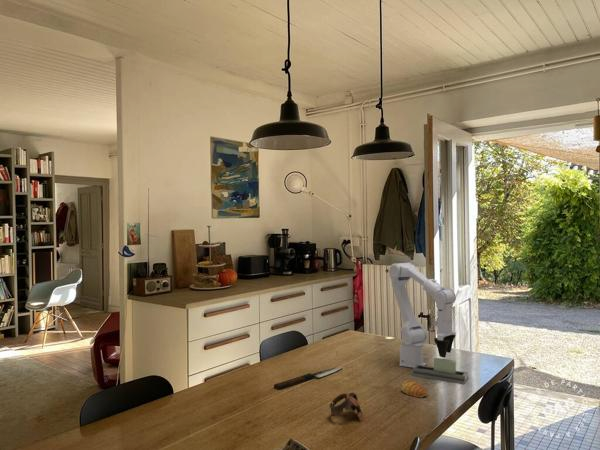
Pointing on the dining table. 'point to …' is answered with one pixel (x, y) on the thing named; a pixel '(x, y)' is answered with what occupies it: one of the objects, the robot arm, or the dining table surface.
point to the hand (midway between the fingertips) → (445, 354)
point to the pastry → (413, 389)
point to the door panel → (445, 365)
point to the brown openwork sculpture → (346, 404)
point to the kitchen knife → (304, 378)
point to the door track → (439, 374)
